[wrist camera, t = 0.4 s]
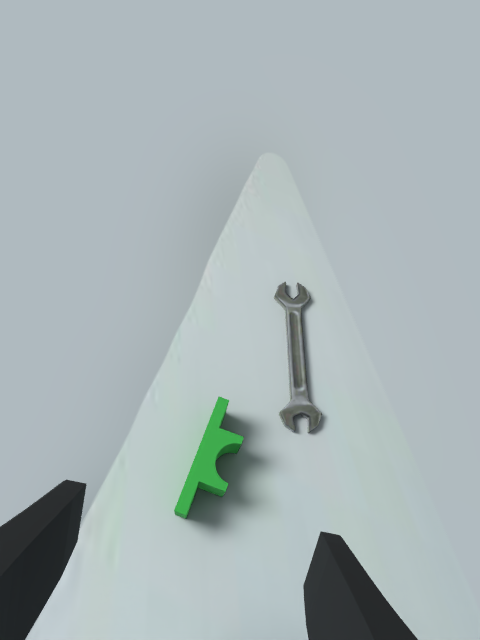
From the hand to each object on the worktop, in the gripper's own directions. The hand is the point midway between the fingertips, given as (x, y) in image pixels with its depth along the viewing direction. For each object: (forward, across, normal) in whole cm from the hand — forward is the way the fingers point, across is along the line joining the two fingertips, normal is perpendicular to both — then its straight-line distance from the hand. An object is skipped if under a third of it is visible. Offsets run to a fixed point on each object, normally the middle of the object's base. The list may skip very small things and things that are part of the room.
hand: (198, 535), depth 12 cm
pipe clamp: (+27, -2, +15) cm, 31 cm away
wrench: (+37, -9, +4) cm, 38 cm away
